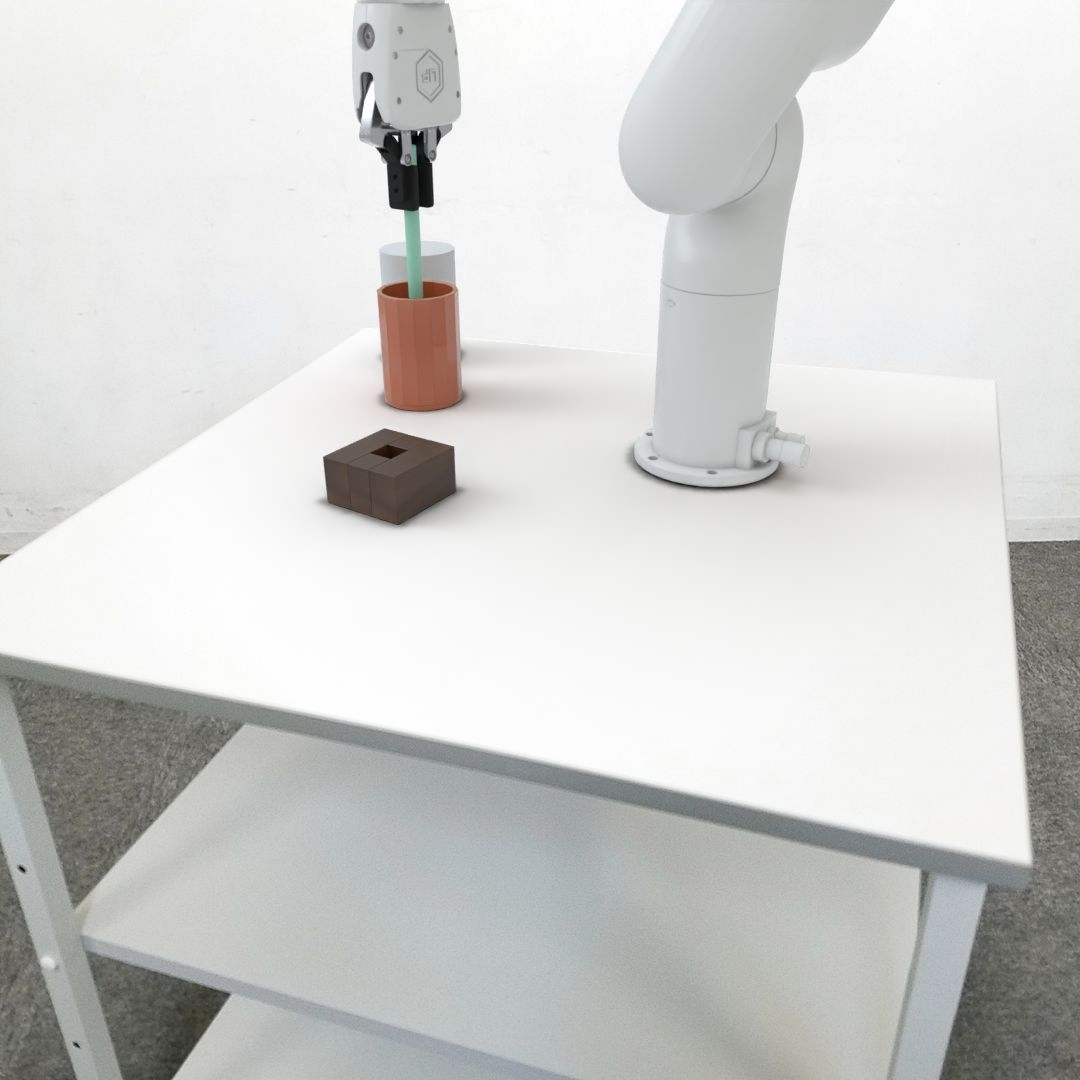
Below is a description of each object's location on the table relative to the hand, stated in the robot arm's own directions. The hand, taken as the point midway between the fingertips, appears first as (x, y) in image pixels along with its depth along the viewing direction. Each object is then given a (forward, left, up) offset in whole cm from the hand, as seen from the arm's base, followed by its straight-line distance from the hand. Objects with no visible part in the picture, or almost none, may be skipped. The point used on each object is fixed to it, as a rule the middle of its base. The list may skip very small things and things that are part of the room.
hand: (411, 206), depth 97 cm
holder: (-13, +20, -19) cm, 30 cm away
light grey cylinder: (+9, -11, -19) cm, 24 cm away
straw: (0, 0, -9) cm, 9 cm away
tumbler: (0, 0, -19) cm, 19 cm away
